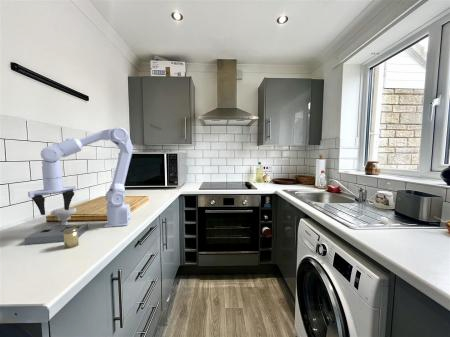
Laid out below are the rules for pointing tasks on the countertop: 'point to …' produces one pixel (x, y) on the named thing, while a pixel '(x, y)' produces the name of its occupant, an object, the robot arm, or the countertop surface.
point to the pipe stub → (70, 237)
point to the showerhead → (63, 214)
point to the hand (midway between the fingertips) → (55, 212)
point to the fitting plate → (53, 233)
